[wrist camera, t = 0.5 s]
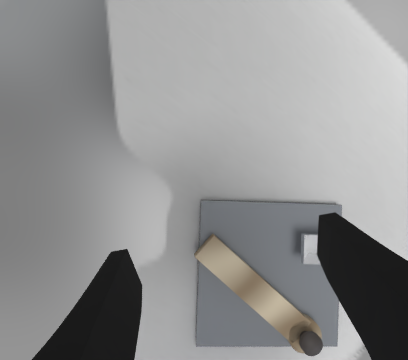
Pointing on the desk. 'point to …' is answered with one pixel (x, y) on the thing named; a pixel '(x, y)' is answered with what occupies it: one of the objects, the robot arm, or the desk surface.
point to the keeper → (309, 249)
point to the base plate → (263, 271)
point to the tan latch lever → (261, 296)
